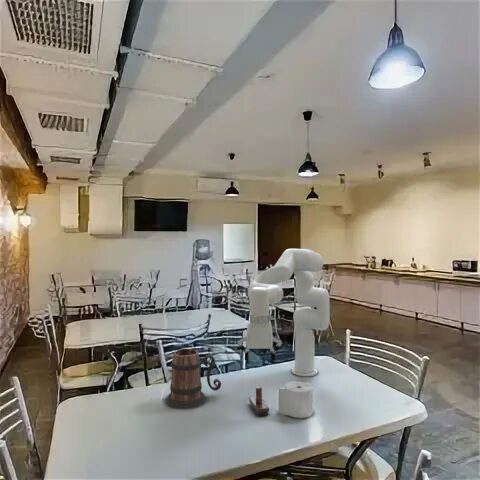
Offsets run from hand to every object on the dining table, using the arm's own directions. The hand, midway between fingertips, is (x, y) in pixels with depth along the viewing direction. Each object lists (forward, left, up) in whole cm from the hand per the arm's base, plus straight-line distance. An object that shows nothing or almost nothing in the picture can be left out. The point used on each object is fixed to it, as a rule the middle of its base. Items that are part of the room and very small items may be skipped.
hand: (259, 362), depth 160 cm
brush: (+1, 0, -19) cm, 19 cm away
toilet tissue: (+2, +15, -19) cm, 24 cm away
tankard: (-9, -27, -19) cm, 34 cm away
